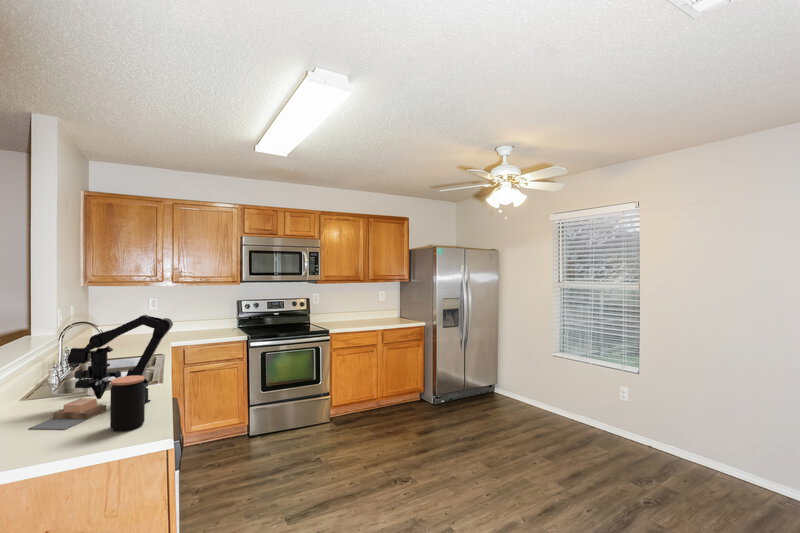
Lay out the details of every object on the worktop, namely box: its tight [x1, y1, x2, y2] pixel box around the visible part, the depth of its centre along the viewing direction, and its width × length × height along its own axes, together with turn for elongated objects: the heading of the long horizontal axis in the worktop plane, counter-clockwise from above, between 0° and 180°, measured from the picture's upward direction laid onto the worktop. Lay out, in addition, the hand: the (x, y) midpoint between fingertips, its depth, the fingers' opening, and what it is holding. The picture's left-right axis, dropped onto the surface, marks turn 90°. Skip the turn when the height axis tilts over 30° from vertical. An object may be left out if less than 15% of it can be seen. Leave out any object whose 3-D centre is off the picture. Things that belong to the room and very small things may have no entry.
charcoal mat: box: [28, 417, 88, 431], centre depth 154 cm, size 14×10×1 cm
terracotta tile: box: [63, 397, 98, 413], centre depth 164 cm, size 7×8×3 cm
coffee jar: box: [109, 375, 146, 433], centre depth 152 cm, size 11×11×18 cm
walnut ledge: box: [52, 404, 107, 421], centre depth 164 cm, size 14×10×2 cm
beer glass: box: [85, 361, 97, 397], centre depth 192 cm, size 7×7×15 cm
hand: (99, 398), depth 174 cm, fingers closed
